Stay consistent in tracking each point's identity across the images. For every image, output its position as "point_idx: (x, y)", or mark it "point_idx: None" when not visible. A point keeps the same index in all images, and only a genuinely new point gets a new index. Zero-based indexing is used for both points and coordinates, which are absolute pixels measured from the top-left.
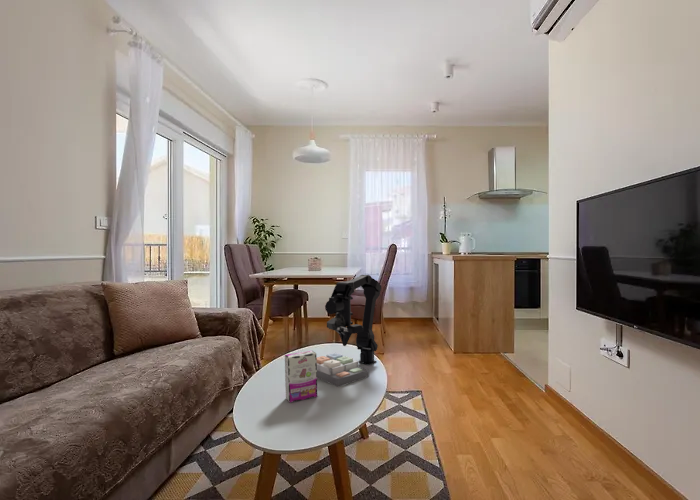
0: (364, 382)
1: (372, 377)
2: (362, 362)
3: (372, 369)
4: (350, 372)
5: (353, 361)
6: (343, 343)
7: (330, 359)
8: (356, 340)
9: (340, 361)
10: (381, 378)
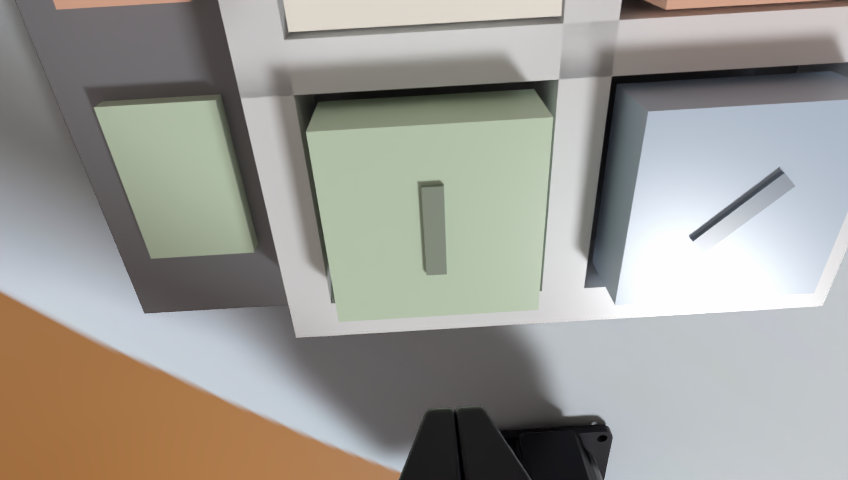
0: (12, 121)
1: None
2: (540, 432)
3: (351, 400)
4: (152, 74)
5: None
6: (455, 463)
7: (724, 85)
8: None
9: (420, 111)
10: (68, 322)
